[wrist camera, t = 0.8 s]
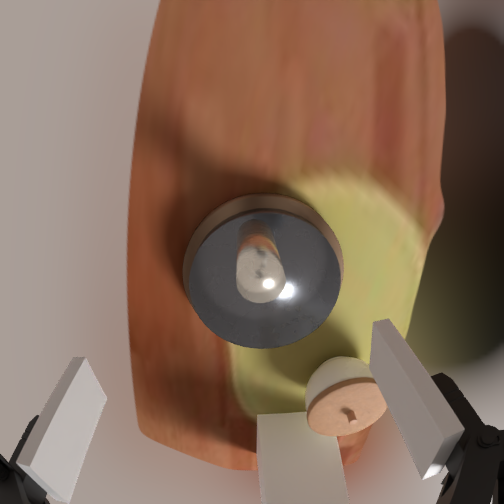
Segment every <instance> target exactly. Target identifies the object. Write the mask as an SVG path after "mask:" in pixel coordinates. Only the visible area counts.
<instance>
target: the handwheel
mask: <svg viewBox="0 0 504 504" xmlns="http://www.w3.org/2000/svg"><path fill="white" fill-rule="evenodd" d="M340 284H341V272H340V266H339V262H338V259H337V256H336V254H335V252H334V250H333V248H332V246H331V245H330V243H329V242H328V240H327V239H326V238H325V236H324V235H323V234H322V232H321V231H320V230H319V229H318V228H317V227H316V226H315V225H313V224H312V223H311V222H310V221H308V220H307V219H305V218H303V217H301V216H300V215H297V214H295V213H292V212H290V211H286V210H282V209H275V208H257V209H250V210H246V211H243V212H239V213H237V214H235V215H232V216H230V217H228V218H227V219H225V220H223V221H222V222H220V223H219V224H218V225H216V226H215V227H214V228H213V229H212V230H211V231H210V232H209V233H208V234H207V235H206V237H205V238H204V239H203V241H202V242H201V244H200V246H199V248H198V249H197V252H196V254H195V257H194V260H193V263H192V266H191V271H190V276H189V290H190V297H191V300H192V304H193V306H194V308H195V311H196V313H197V314H198V316H199V318H200V319H201V320H202V321H203V323H204V324H205V325H206V326H207V327H208V328H209V329H210V330H211V331H212V332H214V333H215V334H216V335H218V336H219V337H221V338H223V339H224V340H226V341H229V342H231V343H233V344H236V345H240V346H243V347H249V348H258V349H265V348H275V347H281V346H285V345H288V344H291V343H294V342H296V341H298V340H300V339H302V338H304V337H306V336H307V335H309V334H310V333H312V332H313V331H314V330H316V329H317V328H318V327H319V326H320V325H321V324H322V323H323V322H324V321H325V320H326V318H327V317H328V316H329V314H330V313H331V311H332V309H333V307H334V306H335V303H336V301H337V298H338V295H339V291H340Z"/></svg>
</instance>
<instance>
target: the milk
mask: <svg viewBox="0 0 504 504" xmlns="http://www.w3.org/2000/svg"><path fill="white" fill-rule="evenodd" d="M256 454H257V464H258V473H259V483H260V492H261V503H262V504H350V503H349V497H348V492H347V487H346V481H345V476H344V471H343V466H342V461H341V456H340V451H339V446H338V441H337V436H324V435H321V434H318V433H316V432H315V431H313V430H312V429H311V428H310V427H309V425H308V421H307V412H296V413H281V414H260V415H257V452H256Z"/></svg>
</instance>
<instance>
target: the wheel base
mask: <svg viewBox="0 0 504 504" xmlns="http://www.w3.org/2000/svg"><path fill="white" fill-rule="evenodd" d="M257 208H275V209H282V210H286V211H290V212H292V213H295V214H297V215H300V216H301V217H303V218H305V219H307V220H308V221H310V222H311V223H312V224H313V225H315V226H316V227H317V228H318V229H319V230H320V231H321V232H322V234H323V235H324V236H325V238H326V239H327V240H328V242H329V243H330V245H331V246H332V248H333V250H334V252H335V254H336V256H337V259H338V262H339V266H340V272H341V284H342V280H343V272H344V263H343V255H342V251H341V248H340V244H339V242H338V240H337V238H336V236H335V234H334V232H333V231H332V229H331V228H330V227H329V225H328V224H327V223H326V222H325V221H324V219H323V218H322V217H321V216H320V215H319V214H318V213H317V212H316V211H314V210H313V209H312V208H311V207H309V206H308V205H306V204H304V203H303V202H301V201H299V200H297V199H294V198H292V197H289V196H285V195H281V194H274V193H254V194H247V195H244V196H240V197H236V198H234V199H232V200H229V201H227V202H225V203H223V204H222V205H220V206H219V207H217V208H216V209H214V210H213V211H212V212H211V213H209V214H208V215H207V216H206V217H205V218H204V219H203V221H202V222H201V223H200V224H199V226H198V227H197V229H196V230H195V232H194V234H193V236H192V238H191V240H190V242H189V245H188V247H187V250H186V253H185V256H184V262H183V283H184V288H185V292H186V295H187V297H188V299H189V302H190V304H191V305H192V307H193V309H194V310H195V308H194V306H193V304H192V300H191V297H190V290H189V276H190V271H191V266H192V263H193V260H194V257H195V254H196V252H197V249H198V248H199V246H200V244H201V242H202V241H203V239H204V238H205V237H206V235H207V234H208V233H209V232H210V231H211V230H212V229H213V228H214V227H215V226H216V225H218V224H219V223H220V222H222V221H223V220H225V219H227V218H228V217H230V216H232V215H235V214H237V213H239V212H243V211H246V210H250V209H257ZM341 284H340V288H341ZM195 312H196V311H195Z"/></svg>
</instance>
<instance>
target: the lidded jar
mask: <svg viewBox="0 0 504 504" xmlns="http://www.w3.org/2000/svg"><path fill="white" fill-rule="evenodd" d="M305 407H306V412H307V421H308V425H309V427H310V428H311V429H312V430H313V431H315V432H316V433H318V434H321V435H324V436H344V435H348V434H352V433H355V432H358V431H360V430H362V429H364V428H366V427H368V426H369V425H371V424H372V423H374V422H375V421H376V420H377V419H379V417H381V415H382V414H383V413H384V411H385V410H386V408H387V404H386V402H385V399H384V397H383V395H382V393H381V391H380V389H379V387H378V385H377V383H376V381H375V379H374V377H373V375H372V373H371V372H370V370H369V364H367V363H366V362H364V361H363V360H360V359H357V358H353V357H346V356H338V357H334V358H331V359H328V360H326V361H325V362H323V363H322V364H321V365H320V366H319V367H318V369H317V370H316V371H315V372H314V373H313V374H312V376H311V377H310V379H309V381H308V383H307V387H306V391H305Z"/></svg>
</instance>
